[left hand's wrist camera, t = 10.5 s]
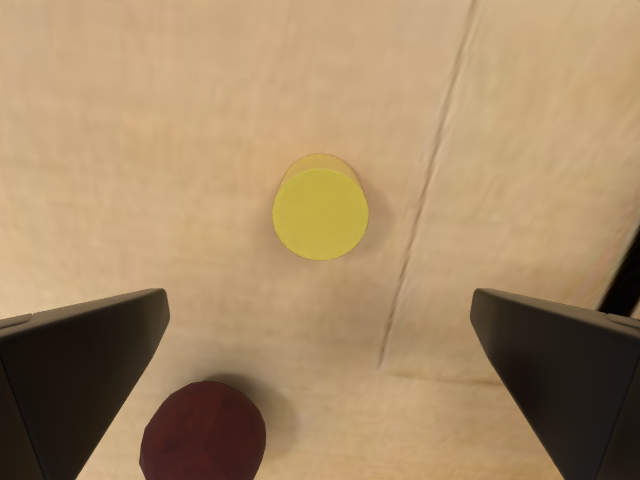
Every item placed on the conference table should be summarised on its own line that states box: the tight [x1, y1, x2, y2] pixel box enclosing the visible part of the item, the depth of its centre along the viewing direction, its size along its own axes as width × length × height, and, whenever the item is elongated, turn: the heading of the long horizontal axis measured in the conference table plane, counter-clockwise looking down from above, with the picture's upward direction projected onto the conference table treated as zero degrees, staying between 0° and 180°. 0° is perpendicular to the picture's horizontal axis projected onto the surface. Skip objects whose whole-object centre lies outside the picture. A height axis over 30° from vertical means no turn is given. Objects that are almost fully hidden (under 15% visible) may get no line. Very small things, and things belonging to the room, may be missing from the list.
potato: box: [139, 381, 266, 480], centre depth 25 cm, size 7×8×7 cm
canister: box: [272, 154, 369, 261], centre depth 21 cm, size 5×5×4 cm
